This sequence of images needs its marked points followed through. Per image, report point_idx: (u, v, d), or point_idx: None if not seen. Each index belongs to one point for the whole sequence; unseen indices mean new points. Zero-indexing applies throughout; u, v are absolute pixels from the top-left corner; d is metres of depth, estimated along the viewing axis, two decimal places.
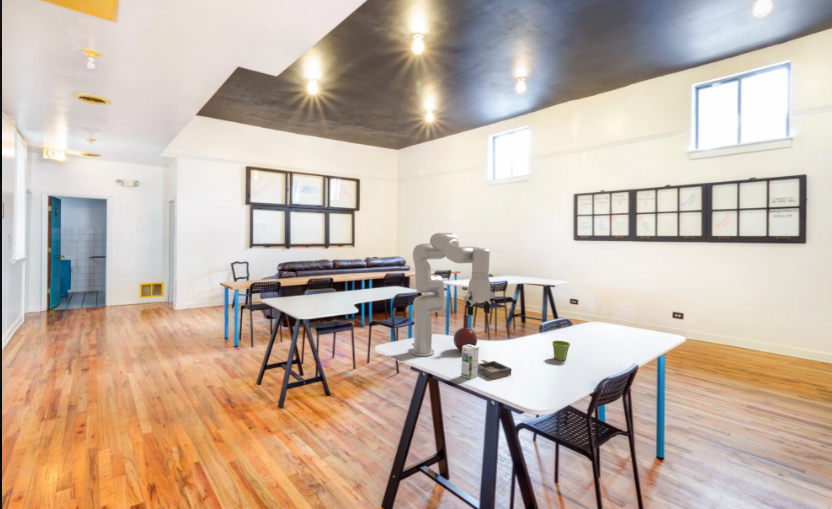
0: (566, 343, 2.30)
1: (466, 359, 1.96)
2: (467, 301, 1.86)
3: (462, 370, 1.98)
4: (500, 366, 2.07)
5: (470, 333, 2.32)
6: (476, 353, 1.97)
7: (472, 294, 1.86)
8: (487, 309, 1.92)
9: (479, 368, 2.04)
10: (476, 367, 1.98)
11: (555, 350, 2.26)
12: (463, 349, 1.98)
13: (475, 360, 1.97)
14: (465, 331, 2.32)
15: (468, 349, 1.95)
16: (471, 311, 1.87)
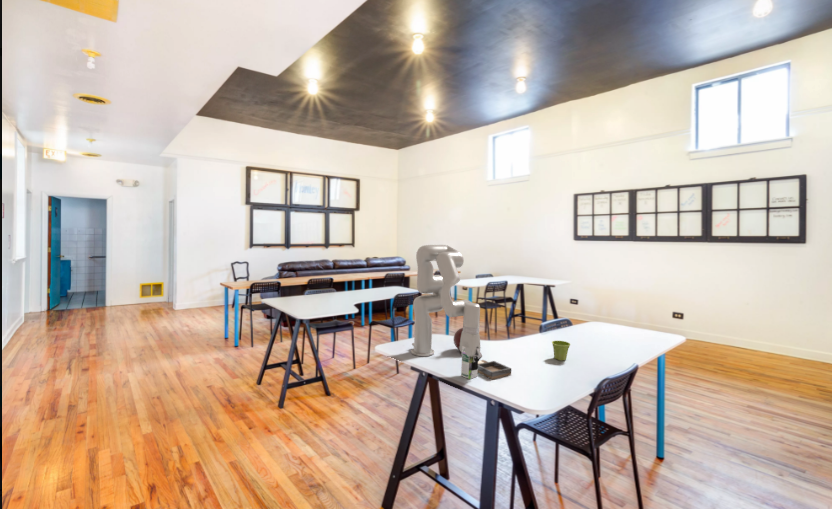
0: (566, 343, 2.30)
1: (466, 359, 1.96)
2: None
3: (462, 370, 1.98)
4: (500, 366, 2.07)
5: None
6: None
7: (479, 348, 1.94)
8: None
9: (479, 368, 2.04)
10: None
11: (555, 350, 2.26)
12: (463, 349, 1.98)
13: None
14: None
15: None
16: (477, 365, 1.96)
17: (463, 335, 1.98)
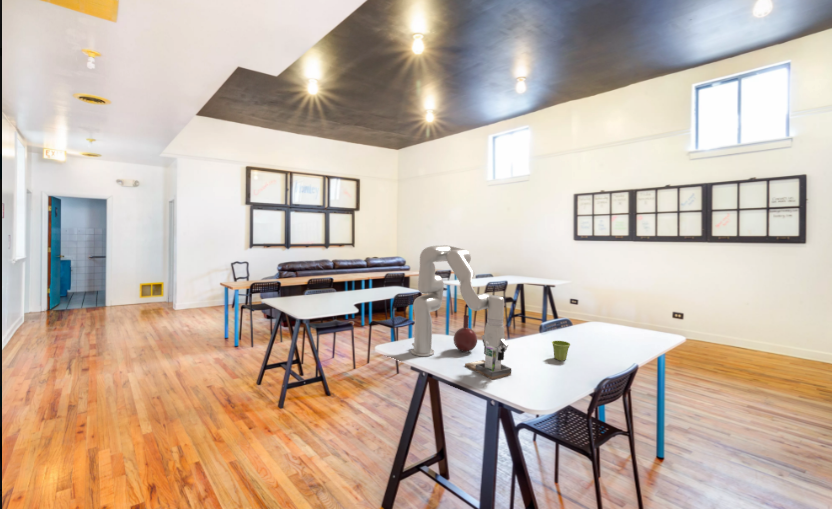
0: (566, 343, 2.30)
1: (490, 353, 2.02)
2: (506, 348, 1.97)
3: (486, 364, 2.04)
4: None
5: (470, 333, 2.32)
6: None
7: None
8: None
9: (479, 368, 2.04)
10: (499, 362, 2.03)
11: (555, 350, 2.26)
12: (486, 344, 2.03)
13: None
14: (465, 331, 2.32)
15: None
16: None
17: (488, 327, 2.02)
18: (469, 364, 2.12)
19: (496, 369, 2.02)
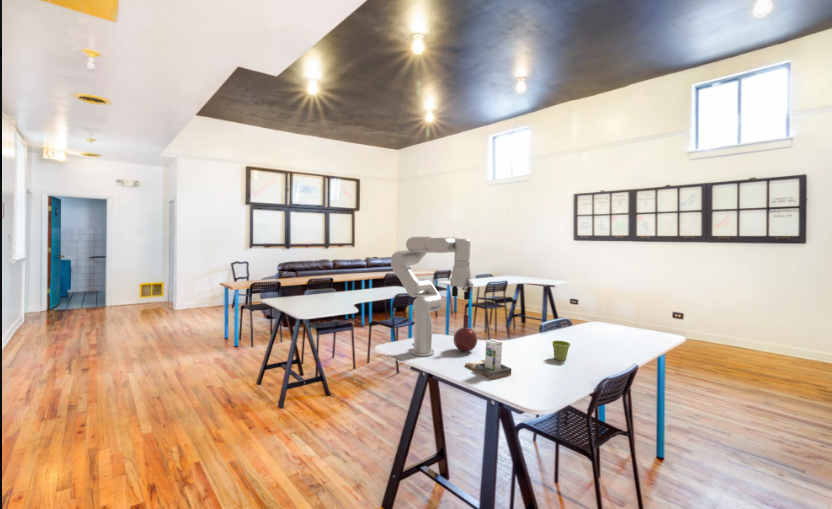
0: (566, 343, 2.30)
1: (490, 353, 2.02)
2: (471, 287, 2.05)
3: (486, 364, 2.04)
4: None
5: (470, 333, 2.32)
6: (499, 348, 2.02)
7: (469, 280, 2.07)
8: (456, 292, 2.16)
9: (479, 368, 2.04)
10: (499, 362, 2.03)
11: (555, 350, 2.26)
12: (486, 344, 2.03)
13: (498, 354, 2.02)
14: (465, 331, 2.32)
15: (492, 344, 2.01)
16: None
17: (455, 269, 2.10)
18: (469, 364, 2.12)
19: (496, 369, 2.02)
